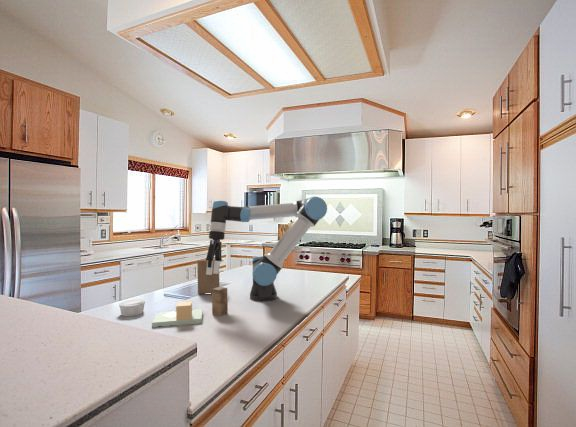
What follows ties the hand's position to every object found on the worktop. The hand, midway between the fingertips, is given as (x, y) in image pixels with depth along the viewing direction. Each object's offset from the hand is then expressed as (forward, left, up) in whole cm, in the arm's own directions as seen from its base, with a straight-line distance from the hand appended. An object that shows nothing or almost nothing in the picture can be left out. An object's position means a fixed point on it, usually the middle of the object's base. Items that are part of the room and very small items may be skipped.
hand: (212, 274), depth 158 cm
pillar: (-3, +8, -17) cm, 19 cm away
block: (+3, -35, -18) cm, 39 cm away
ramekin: (+38, -4, -18) cm, 42 cm away
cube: (+12, +16, -15) cm, 25 cm away
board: (+15, +12, -17) cm, 26 cm away
